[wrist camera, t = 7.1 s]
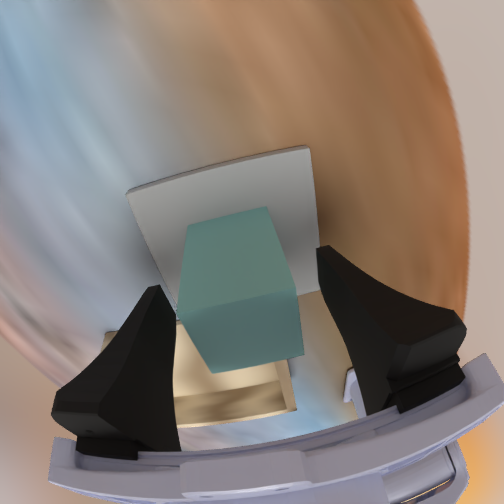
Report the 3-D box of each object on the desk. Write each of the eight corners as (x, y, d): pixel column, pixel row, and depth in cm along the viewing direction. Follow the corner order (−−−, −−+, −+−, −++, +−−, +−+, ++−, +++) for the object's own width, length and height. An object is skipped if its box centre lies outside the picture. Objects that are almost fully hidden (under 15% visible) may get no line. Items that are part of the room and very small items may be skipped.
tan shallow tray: (272, 300, 18) (283, 342, 16) (289, 378, 25) (297, 410, 22) (105, 332, 19) (95, 370, 16) (164, 398, 25) (162, 428, 22)
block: (266, 206, 14) (296, 287, 9) (278, 268, 16) (304, 354, 11) (187, 225, 14) (176, 313, 9) (209, 284, 16) (212, 374, 11)
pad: (305, 145, 13) (309, 148, 12) (319, 283, 18) (322, 289, 18) (128, 190, 13) (125, 194, 13) (185, 313, 18) (184, 320, 18)
